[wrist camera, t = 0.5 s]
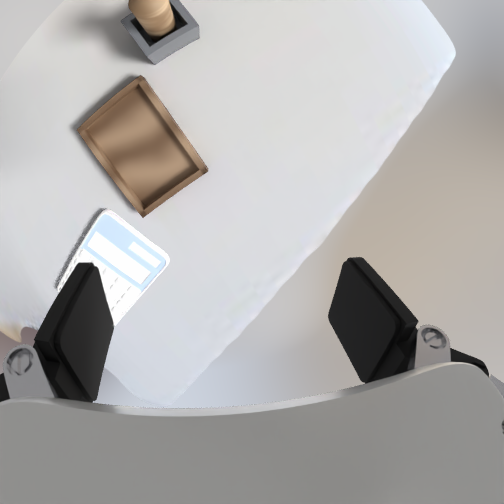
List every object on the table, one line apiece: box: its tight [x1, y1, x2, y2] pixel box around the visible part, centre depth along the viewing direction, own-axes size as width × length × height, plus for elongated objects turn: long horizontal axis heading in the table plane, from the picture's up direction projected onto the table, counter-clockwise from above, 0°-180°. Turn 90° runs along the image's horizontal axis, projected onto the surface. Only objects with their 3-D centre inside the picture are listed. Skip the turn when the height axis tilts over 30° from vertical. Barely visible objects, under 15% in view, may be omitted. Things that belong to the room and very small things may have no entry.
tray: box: [77, 75, 208, 218], centre depth 31 cm, size 16×11×2 cm
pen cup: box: [121, 0, 199, 65], centre depth 23 cm, size 7×7×6 cm
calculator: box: [57, 209, 170, 326], centre depth 40 cm, size 13×20×2 cm, turn 133°
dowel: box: [128, 0, 177, 43], centre depth 19 cm, size 4×4×12 cm
